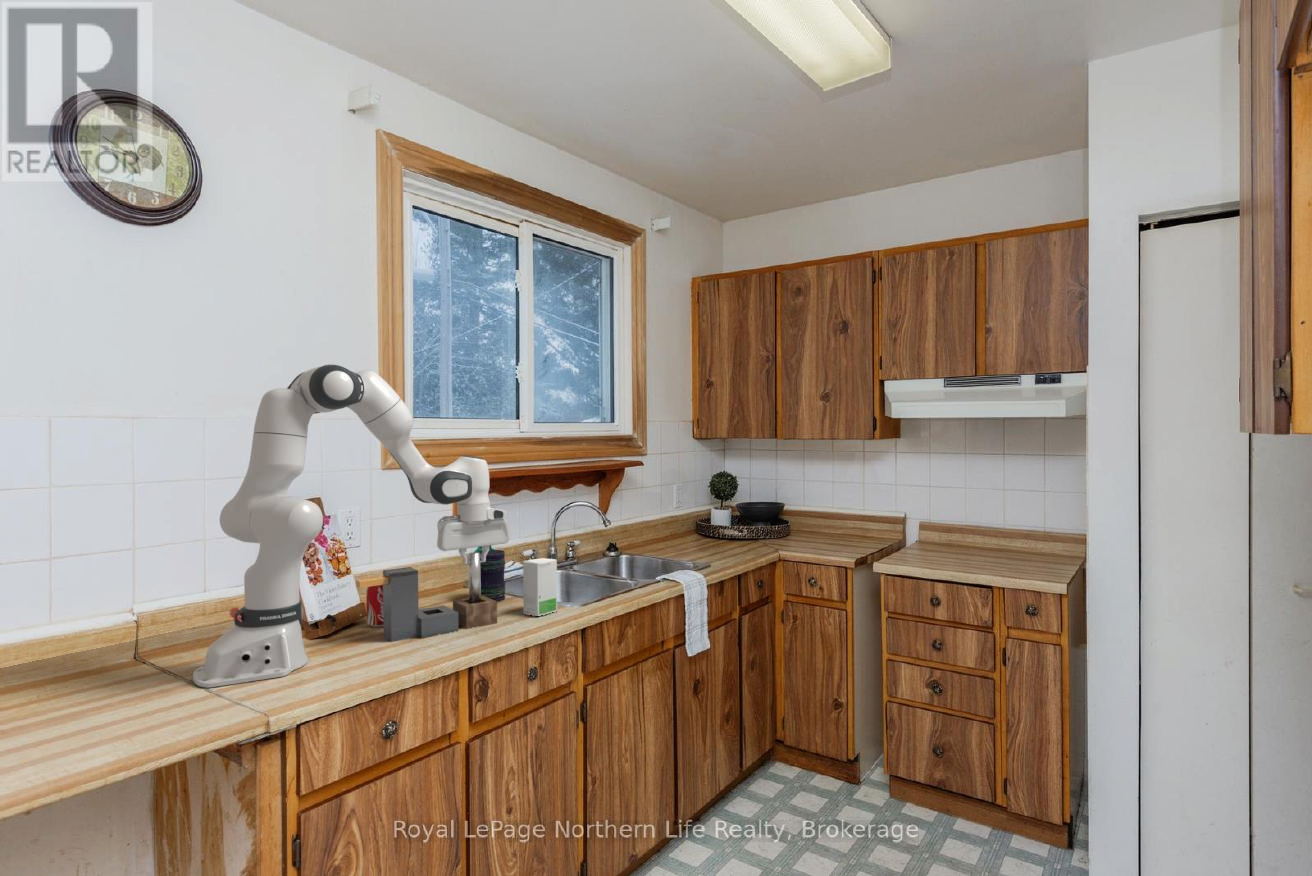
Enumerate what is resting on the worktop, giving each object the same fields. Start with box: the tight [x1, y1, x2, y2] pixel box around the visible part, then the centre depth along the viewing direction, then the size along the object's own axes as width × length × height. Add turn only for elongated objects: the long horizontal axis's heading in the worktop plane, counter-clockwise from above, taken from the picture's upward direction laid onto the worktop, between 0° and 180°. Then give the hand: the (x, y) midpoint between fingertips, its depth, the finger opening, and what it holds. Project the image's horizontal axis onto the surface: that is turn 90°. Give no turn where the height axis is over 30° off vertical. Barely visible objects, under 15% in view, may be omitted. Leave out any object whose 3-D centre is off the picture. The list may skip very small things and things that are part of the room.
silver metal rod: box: [467, 551, 481, 604], centre depth 195 cm, size 3×3×14 cm
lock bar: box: [356, 576, 389, 589], centre depth 180 cm, size 14×2×2 cm, turn 129°
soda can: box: [366, 585, 384, 628], centre depth 194 cm, size 7×7×12 cm
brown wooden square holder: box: [452, 596, 498, 630], centre depth 195 cm, size 9×9×6 cm
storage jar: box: [476, 549, 506, 603], centre depth 222 cm, size 10×10×15 cm
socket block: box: [382, 566, 460, 643], centre depth 186 cm, size 17×10×17 cm, turn 129°
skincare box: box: [522, 557, 558, 617], centre depth 205 cm, size 8×7×16 cm
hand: (474, 563), depth 195 cm, fingers closed on silver metal rod, 3 cm apart
